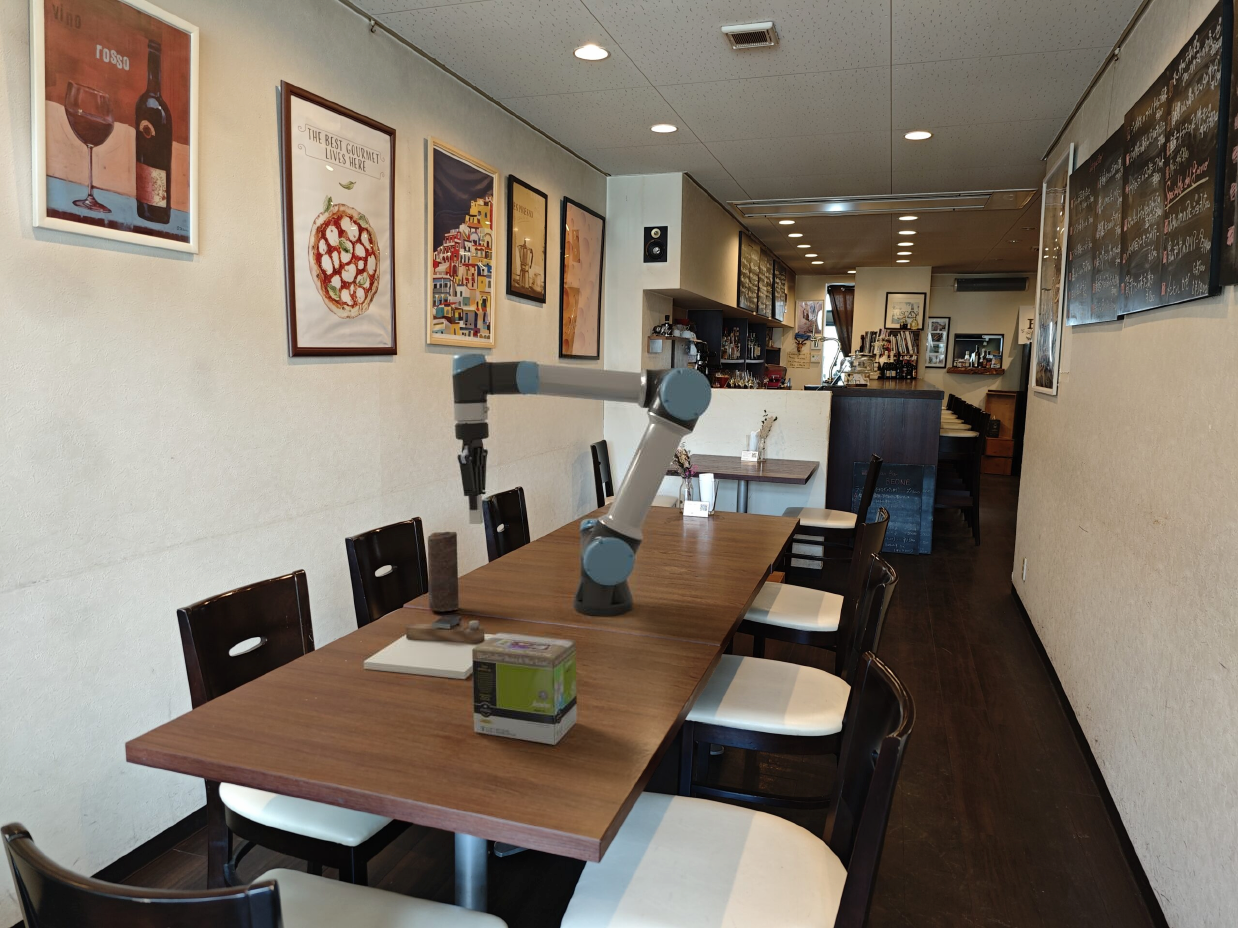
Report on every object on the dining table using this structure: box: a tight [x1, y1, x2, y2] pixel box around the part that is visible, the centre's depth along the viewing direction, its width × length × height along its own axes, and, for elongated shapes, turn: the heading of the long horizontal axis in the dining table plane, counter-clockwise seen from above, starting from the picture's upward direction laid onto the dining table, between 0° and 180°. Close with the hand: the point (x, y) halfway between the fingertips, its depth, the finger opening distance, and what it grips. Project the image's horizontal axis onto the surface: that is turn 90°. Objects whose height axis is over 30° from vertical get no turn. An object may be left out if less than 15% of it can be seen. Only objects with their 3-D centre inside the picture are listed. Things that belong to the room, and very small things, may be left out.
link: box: [405, 620, 485, 644], centre depth 174 cm, size 17×4×4 cm, turn 81°
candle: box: [427, 531, 460, 613], centre depth 199 cm, size 8×7×20 cm
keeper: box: [432, 614, 462, 629], centre depth 175 cm, size 4×6×4 cm
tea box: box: [472, 631, 578, 746], centre depth 134 cm, size 15×10×15 cm
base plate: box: [363, 633, 495, 680], centre depth 169 cm, size 22×22×2 cm
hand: (476, 523), depth 185 cm, fingers closed
